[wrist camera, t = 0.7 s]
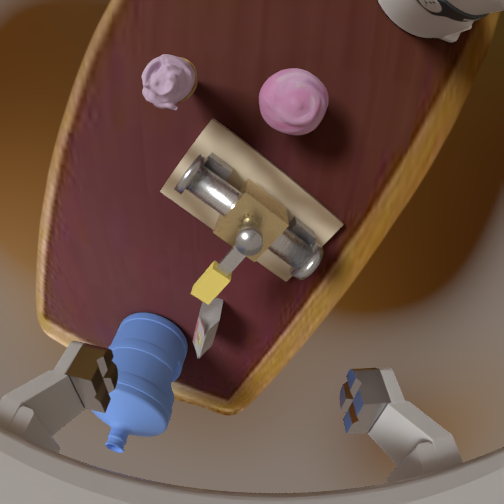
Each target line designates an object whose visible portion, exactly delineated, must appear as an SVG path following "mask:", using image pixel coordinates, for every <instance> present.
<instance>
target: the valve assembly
mask: <svg viewBox="0 0 504 504" xmlns="http://www.w3.org/2000/svg"><path fill="white" fill-rule="evenodd" d="M160 192H161V193H163V194H164V195H166V196H167V197H168V198H170V199H171V200H173V201H174V202H175V203H177V204H178V205H179V206H181V207H182V208H184V209H185V210H186V211H188V212H189V213H191V214H192V215H193V216H195V217H196V218H198V219H199V220H200V221H202V222H203V223H205V224H206V225H207V226H209V227H210V228H211V229H213V230H214V231H213V233H214V234H216V235H217V236H218V237H220V238H221V239H223V240H224V241H225V242H227V243H228V244H230V245H231V246H232V247H233V246H234V245H235V241H236V236H237V232H238V230H239V229H240V228H241V227H242V226H244V225H255V226H257V227H258V228H259V229H260V230H261V231H262V234H263V247H262V249H261V251H260V252H259V253H258V254H256V255H253V256H246V257H248V258H249V259H251V260H252V261H253V262H256V261H258V262H259V263H260V264H262V265H263V266H265V267H266V268H267V269H269V270H270V271H272V272H273V273H274V274H276V275H277V276H279V277H280V278H281V279H283V280H284V281H286V282H287V281H288V280H289V279H290V278H291V277H292V276H294V277H295V278H297V279H298V280H303V279H305V278H307V277H308V276H309V275H311V274H312V273H313V272H314V271H315V269H316V268H317V267H318V265H319V264H320V262H321V260H322V257H323V252H324V251H323V248H322V246H323V245H324V244H325V243H326V242H327V241H328V240H329V239H330V238H331V237H332V236H333V235H334V234H335V233H336V232H337V231H338V230H339V229H340V228H341V227H342V226H343V225H344V224H343V223H342V221H341V220H340V219H339V218H337V217H336V216H335V215H334V214H333V213H332V212H331V211H330V210H328V209H327V208H326V207H325V206H324V205H323V204H321V203H320V202H319V201H318V200H317V199H316V198H314V197H313V196H312V195H311V194H310V193H309V192H307V191H306V190H305V189H304V188H303V187H301V186H300V185H299V184H298V183H297V182H295V181H294V180H293V179H292V178H291V177H289V176H288V175H287V174H286V173H284V172H283V171H282V170H281V169H279V168H278V167H277V166H276V165H275V164H273V163H272V162H271V161H269V160H268V159H267V158H266V157H264V156H263V155H262V154H261V153H259V152H258V151H257V150H255V149H254V148H253V147H252V146H250V145H249V144H248V143H246V142H245V141H244V140H242V139H241V138H240V137H238V136H237V135H236V134H234V133H233V132H232V131H230V130H229V129H228V128H226V127H225V126H224V125H222V124H221V123H220V122H218V121H217V120H215V119H214V118H213V119H212V120H211V121H210V122H209V124H208V125H207V126H206V128H205V129H204V130H203V131H202V133H201V134H200V135H199V137H198V138H197V140H196V141H195V142H194V144H193V145H192V146H191V148H190V149H189V150H188V152H187V153H186V155H185V156H184V157H183V159H182V160H181V162H180V163H179V164H178V166H177V167H176V169H175V170H174V172H173V173H172V174H171V176H170V177H169V179H168V180H167V182H166V183H165V185H164V186H163V188H162V189H161V191H160Z"/></svg>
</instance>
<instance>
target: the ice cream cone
mask: <svg viewBox="0 0 504 504" xmlns="http://www.w3.org/2000/svg"><path fill="white" fill-rule="evenodd" d="M142 80H143V86H144V87H143V90H142V93H143V96H144V97H145V99H146V100H147V101H149V102H151V103H153V104H154V105H155V106H156V107H158V108H169V109H172V110H177V108H178V107H177V106H175V104H176V103H179V102H182V101H184V100H186V99H187V98H189V97H190V96H191V95H192V94H193V92H194V91H195V89H196V87H197V83H198V76H197V72H196V69H195V67H194V65H193V64H192V63H191V62H190V61H189V60H187V59H185V58H181V57H175V56H173V55H169V54H163V55H161V56H160V57H157V58H155V59H153V60H152V61H151V62H150V63H149V64H148V65H147V66H146V68H145V70H144V72H143V74H142Z"/></svg>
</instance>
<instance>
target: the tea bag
mask: <svg viewBox="0 0 504 504" xmlns="http://www.w3.org/2000/svg"><path fill="white" fill-rule="evenodd" d="M222 305H223V300H222V299H218V298H214V299H213V300H212V301H211V303H210V304H209V305H208V304H206V303H205V302H202V305H201V309H200V313H199V317H198V321H197V325H196V329H195V333H194V337H193V344H194V347H195V349H196V353H197V359H198V357H199V359H200V357H201V356H202V355H203V354H204V353H205V352H206V351H207V350H208V349H209V348H210V347H211V346H212V344H213V340H214V337H215V334H216V331H217V327H218V324H219V321H220V316H221V310H222Z"/></svg>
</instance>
